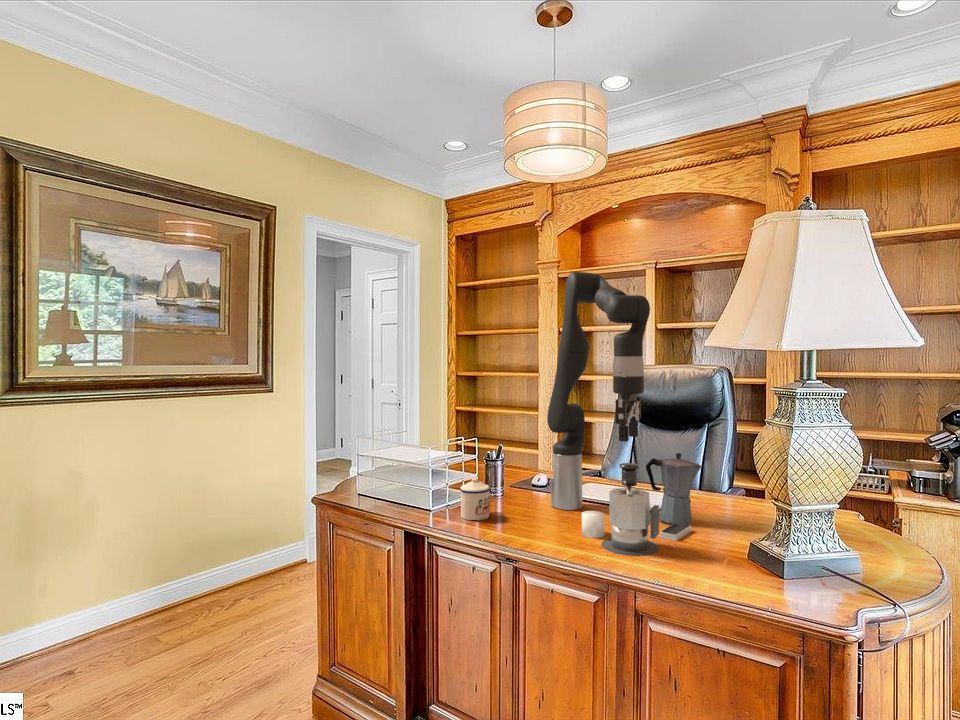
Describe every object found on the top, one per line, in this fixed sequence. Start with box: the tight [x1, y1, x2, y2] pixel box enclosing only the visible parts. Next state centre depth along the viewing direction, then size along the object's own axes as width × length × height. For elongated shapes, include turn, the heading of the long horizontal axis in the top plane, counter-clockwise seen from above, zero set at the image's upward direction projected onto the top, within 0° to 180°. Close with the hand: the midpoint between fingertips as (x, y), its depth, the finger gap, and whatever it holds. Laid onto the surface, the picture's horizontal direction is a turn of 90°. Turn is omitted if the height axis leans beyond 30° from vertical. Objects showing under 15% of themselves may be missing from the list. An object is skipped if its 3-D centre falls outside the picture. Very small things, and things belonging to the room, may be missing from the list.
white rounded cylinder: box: [581, 510, 606, 539], centre depth 145 cm, size 6×6×6 cm
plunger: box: [619, 462, 639, 495], centre depth 136 cm, size 5×5×14 cm
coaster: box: [600, 537, 660, 557], centre depth 136 cm, size 14×14×1 cm
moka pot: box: [645, 452, 703, 525], centre depth 157 cm, size 10×15×20 cm, turn 78°
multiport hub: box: [659, 522, 692, 542], centre depth 145 cm, size 4×11×2 cm, turn 139°
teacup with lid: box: [459, 477, 491, 521], centre depth 165 cm, size 12×9×12 cm
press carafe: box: [608, 487, 660, 552], centre depth 135 cm, size 11×9×14 cm
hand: (628, 438), depth 136 cm, fingers open, 8 cm apart
